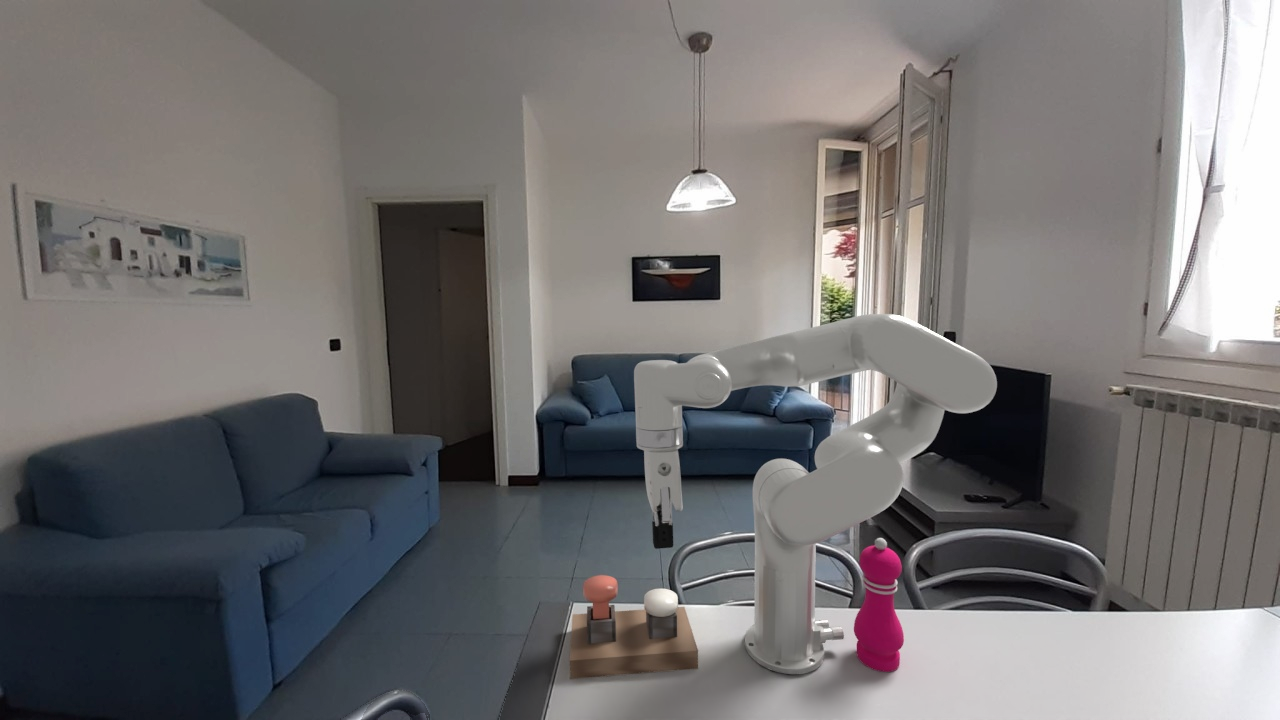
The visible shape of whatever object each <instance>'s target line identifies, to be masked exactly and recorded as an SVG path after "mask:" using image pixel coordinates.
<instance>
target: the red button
mask: <svg viewBox="0 0 1280 720" xmlns="http://www.w3.org/2000/svg"><path fill="white" fill-rule="evenodd" d="M582 584H583V586H582V587H583V588H582V590H583V591H582V592H583V593H582V594H583V599H585V600H586V601H587V602H591V603H592V606H593V619H606V618H609V605H610V602H611V601H612V600H614V599H615V598H616V597H617V596H618V593H619V592H618V581H617V579H616V578H615V577H613V576H610V575H605V574H599V575H594V576H591V577H589V578H587V579H586V580H585V581H584V582H583V583H582Z"/></svg>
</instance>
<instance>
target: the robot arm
mask: <svg viewBox="0 0 1280 720" xmlns="http://www.w3.org/2000/svg"><path fill="white" fill-rule="evenodd" d="M866 371H875V372H877V373H881V374H882V375H884V376H885V377H887V378H889V379H890V380H893V381H894V382H896V386H895V389H894V392H893V395H892V397H891V399H890V400H889V401H888V402H887V404H885V406H883V407H882V408H880V409H878V410H877V411H875V412H874V413H872V414H870V415H868V416H867V417H865V418H863V419H861V420H859V421H857V422H854V423H853V424H851V425H849V426H847V427H845V428H843V429H841V430H839V431H837V432H835V433H833V434H831V435H829V436H827V437H826V438H825V439H823V440H822V441H820V443H819V444H818V446H817V447H816V449H815V453H814V463H815V467H816V469H815V470H813V471H811V472H809V471H808V470H807V469H806V468H805V467H804V466H803V465H801V464H799V463H798V462H796V461H794V460H792V459H789V458H788V459H787V458H775V459H771V460H769V461H767V462H765V463H764V464H763V465H761V467H760V468H759V469H758V471H757V472H756V474H755V476H754V478H753V482H752V483H753V484H752V509H753V524H754V624H752V625H751V626H750V627H749V628H748V629H747V630H746V632H745V634H744V647H745V649H746V652H747V653H748V655H749V656H750V657H751V659H753V660H754V661H755V662H756V663H758V664H759V665H760V666H762V667H763V668H766V669H768V670H771V671H774V672H777V673H781V674H784V675H785V674H787V675H802V674H807V673H810V672H812V671H815V670H816V669H818V668H819V667H820V666H821V665H822V664H823V661H824V659H825V658H824V657H825V647H824V644H825V643H826V641H830V640H831V641H837V640H840V641H841V640H844V639H845V634H844V630H843V628H842V627H841V626H830V623H829V621H828V619H819V620H815V614H816V611H815V609H816V608H815V607H816V604H815V603H816V559H817V557H816V555H817V553H816V552H817V549H816V548H817V547H816V544H819V543H821V542H823V541H826V540H828V539H830V538H832V537H834V536H837V535H838V534H841V533H843V532H845V531H847V530H849V529H851V528H852V527H854V526H857V525H859V524H860V523H863V522H864V521H867V520H868V519H871V518H873V517H875V516H877V515H878V514H880V513H881V512H883V511H885V510H886V509H888V508H889V507H890V506H891V505H893V503H894V502H895V501H896V499H898V497H899V495H900V494H901V491H902V489H903V485H904V471H903V468H902V464H903V463H905V462H907V461H909V460H910V459H912V458H914V457H915V456H917V455H918V454H920V453H922V452H924V451H925V450H926V449H927V448H928V447H929V446H930V445H931V444H932V443H933V441H935V439H936V437H937V434H938V433H939V430H940V427H941V425H942V422H943V419H944V416H945V415H944V414H945V411H948V412H949V413H950V412H951V413H955V414H969V413H970V414H971V413H973V412H977V411H980V410H981V409H984V408H985V407H986V406H987V405H989V404H990V403H991V402H992V400H993V399H994V397H995V395H996V392H997V388H998V381H997V380H998V379H997V375H996V374H995V371H994V369H993V368H992V366H991V364H989V362H987V361H986V360H985V359H984V358H983V357H982V356H980V355H978V354H976V353H975V352H973V351H971V350H969V349H967V348H966V347H963V346H962V345H960V344H957V343H955V342H954V341H951V340H950V339H948V338H946V337H944V336H942V335H940V334H938V333H936V332H934V331H932V330H930V329H929V328H927V327H926V326H923V325H922V324H920V323H918V322H915V321H914V320H911V319H909V318H907V317H905V316H901V315H897V314H893V313H872V314H871V313H867V314H863V315H857V316H853V317H849V318H845V319H840V320H837V321H833V322H828V323H826V324H822V325H817V326H813V327H809V328H805V329H801V330H800V329H799V330H797V331H793V332H787V333H783V334H779V335H775V336H771V337H767V338H765V339H761V340H757V341H756V340H755V341H753V342H747V343H743V344H739V345H735V346H731V347H727V348H722V349H719V350H715V351H714V350H713V351H710V352H707V353H702V354H698V355H696V356H694V357H692V358H690V359H689V360H687V362H683V363H682V362H680V363H678V362H677V361H673V360H671V359H669V360H667V359H656V360H655V359H654V360H653V359H651V360H650V359H649V360H643V361H640V362H639V363H637V364H636V365H635V367H634V370H633V382H634V385H633V386H634V387H633V388H634V408H635V409H634V410H635V439H636V440H635V441H636V447H637V449H639V450H642V451H643V454H644V455H643V457H644V458H643V459H644V461H643V463H644V477H645V478H644V479H645V488H646V489H645V490H646V494H647V499H648V502H649V505H650V509H651V511H652V522H651V524H652V525H651V526H652V544H653V545H652V546H653V547H654V549H656V550H657V549H669V548H673V547H674V524H673V506H674V510H675V511H678V512H682V511H683V507H684V506H683V505H684V504H683V495H682V477H681V476H682V475H681V466H680V465H681V464H680V456H679V455H680V454H679V449H681V448H683V446H684V438H683V437H684V435H683V434H684V433H683V407H692V408H698V409H699V408H700V409H701V408H702V409H711V408H716V407H718V406H720V405H721V404H723V403H724V402H725V401H726V400H727V399H728V398H729V396H730V395H731V392H733V391H736V390H741V389H745V388H746V389H747V388H751V387H758V386H760V387H761V386H775V387H785V388H786V387H787V388H789V387H790V388H791V387H801V386H806V385H810V384H811V385H812V384H815V383H818V382H822V381H827V380H830V379H835V378H839V377H843V376H848V375H852V374H856V373H860V372H866Z"/></svg>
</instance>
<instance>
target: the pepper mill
mask: <svg viewBox="0 0 1280 720" xmlns="http://www.w3.org/2000/svg"><path fill="white" fill-rule="evenodd" d="M858 560H859V561H858V563H859V566H860V569H861V570H862V572H863V573H862V581H861V582H862V586H864V589H865V597H864V600H863V603H862V606H861V607H860V608H859V610H858V611H857V614H856V616H855V619H854V622H853V623H854V624H853V632H854V633H853V634H854V635H855V638H856V639H857V641H856V642H857V643H856V651H855V652H856V656H857V658H858V660H859V661H860V662H861V663H862V664H863V665H864V666H866V667H868V668H870V669H871V670H875V671H878V672H882V673H883V672H884V673H889V672H893V671H895V670H898V668H899V667H900V664H901V662H900V661H901V659H900V657H901V655H900V654H901V653H900V650H901V648H903V646H904V642H905V639H904V638H905V637H904V630H903V626H902V625H901V622H900V619H899V617H898V615H897V612H896V610H895V606H894V596H895V593H897V591H898V580H897V579H898V578H899V577H900V575H901V573H902V568H903V567H902V561H901V559H900V557H899V555H898V554H897V552H895V551H894V550H892V549H890V548H889V547H888V542H887V541H886V539H884V538H883V537H877V538H876V539H874V545H870V546H867V547H865V548H864V549H863V550H862V552H860V556H859V559H858Z"/></svg>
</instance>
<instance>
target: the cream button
mask: <svg viewBox="0 0 1280 720" xmlns="http://www.w3.org/2000/svg"><path fill="white" fill-rule="evenodd" d="M678 599H679V597H678V594H677V593H676V592H675V591H673V590H670V589H668V588H654V589H651V590H648V591H647V592H646V593H645V594H644V596H643V601H644V602H643V607H644V609H645V611H646V612H647V613H649V614H651V615H653V616H658V617H665V616H670V615H672V614H674V613H675V612H676V611H677V609H678V607H679V600H678Z"/></svg>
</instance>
